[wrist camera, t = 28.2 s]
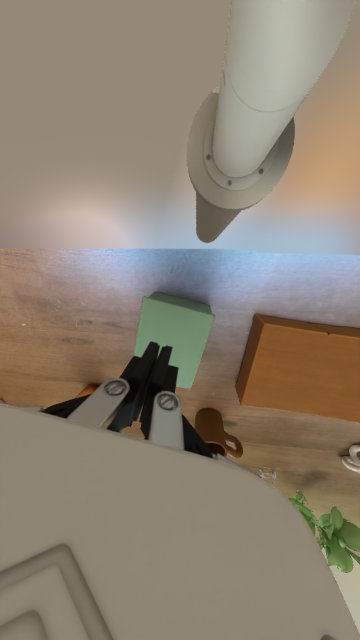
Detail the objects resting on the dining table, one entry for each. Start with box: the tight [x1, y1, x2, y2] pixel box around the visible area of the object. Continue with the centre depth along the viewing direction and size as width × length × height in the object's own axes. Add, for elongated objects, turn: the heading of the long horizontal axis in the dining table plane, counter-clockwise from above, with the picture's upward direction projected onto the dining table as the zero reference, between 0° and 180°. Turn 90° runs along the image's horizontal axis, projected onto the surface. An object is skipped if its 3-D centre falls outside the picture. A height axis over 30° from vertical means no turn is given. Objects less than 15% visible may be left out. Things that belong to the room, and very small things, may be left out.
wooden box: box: [235, 314, 360, 423], centre depth 37 cm, size 23×6×35 cm
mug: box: [195, 409, 243, 458], centre depth 44 cm, size 12×8×9 cm, turn 79°
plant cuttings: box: [259, 467, 360, 573], centre depth 49 cm, size 35×17×22 cm
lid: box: [133, 296, 215, 390], centre depth 32 cm, size 16×13×1 cm
